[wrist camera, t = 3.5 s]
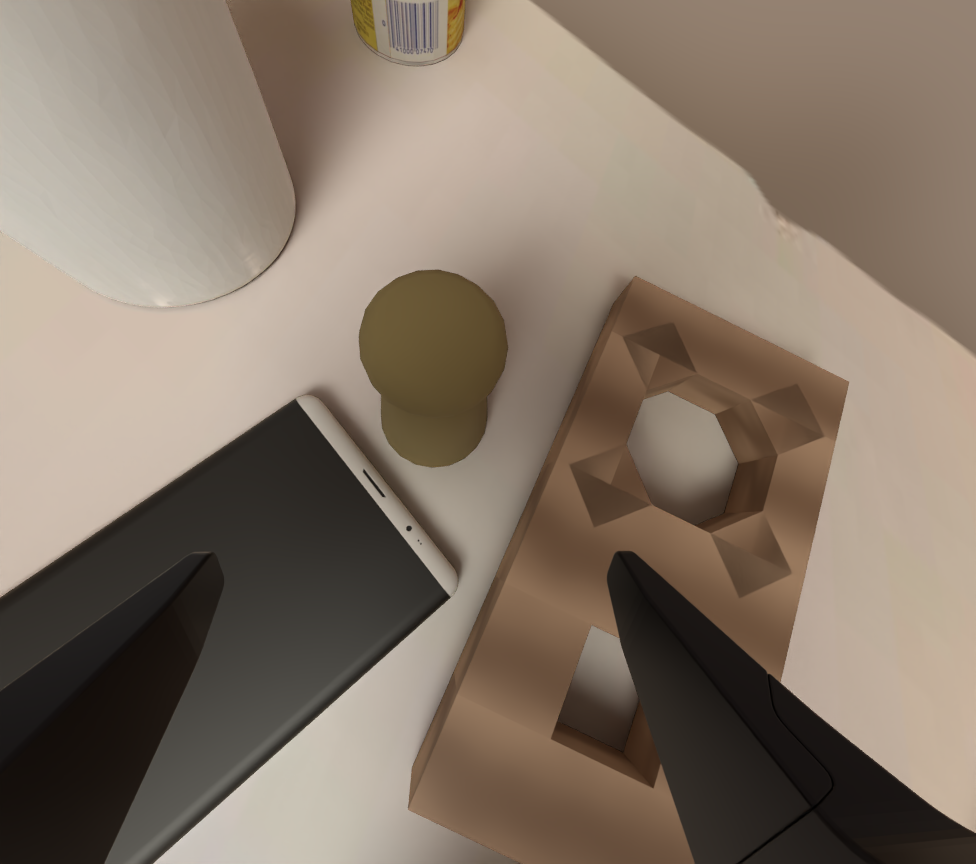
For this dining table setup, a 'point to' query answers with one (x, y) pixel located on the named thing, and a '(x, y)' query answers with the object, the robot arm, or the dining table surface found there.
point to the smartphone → (247, 603)
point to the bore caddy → (585, 595)
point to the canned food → (410, 28)
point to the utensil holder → (138, 148)
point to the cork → (433, 363)
